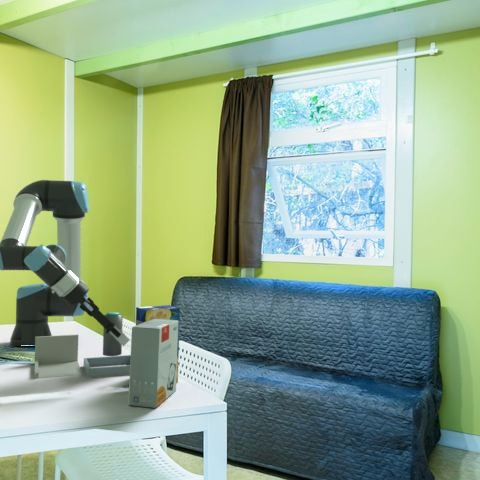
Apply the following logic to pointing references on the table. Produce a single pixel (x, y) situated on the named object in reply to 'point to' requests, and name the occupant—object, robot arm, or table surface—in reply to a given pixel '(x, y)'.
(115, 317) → the bottle
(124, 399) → the table surface
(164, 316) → the beverage box
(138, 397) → the hard drive box
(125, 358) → the tray
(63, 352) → the bay
